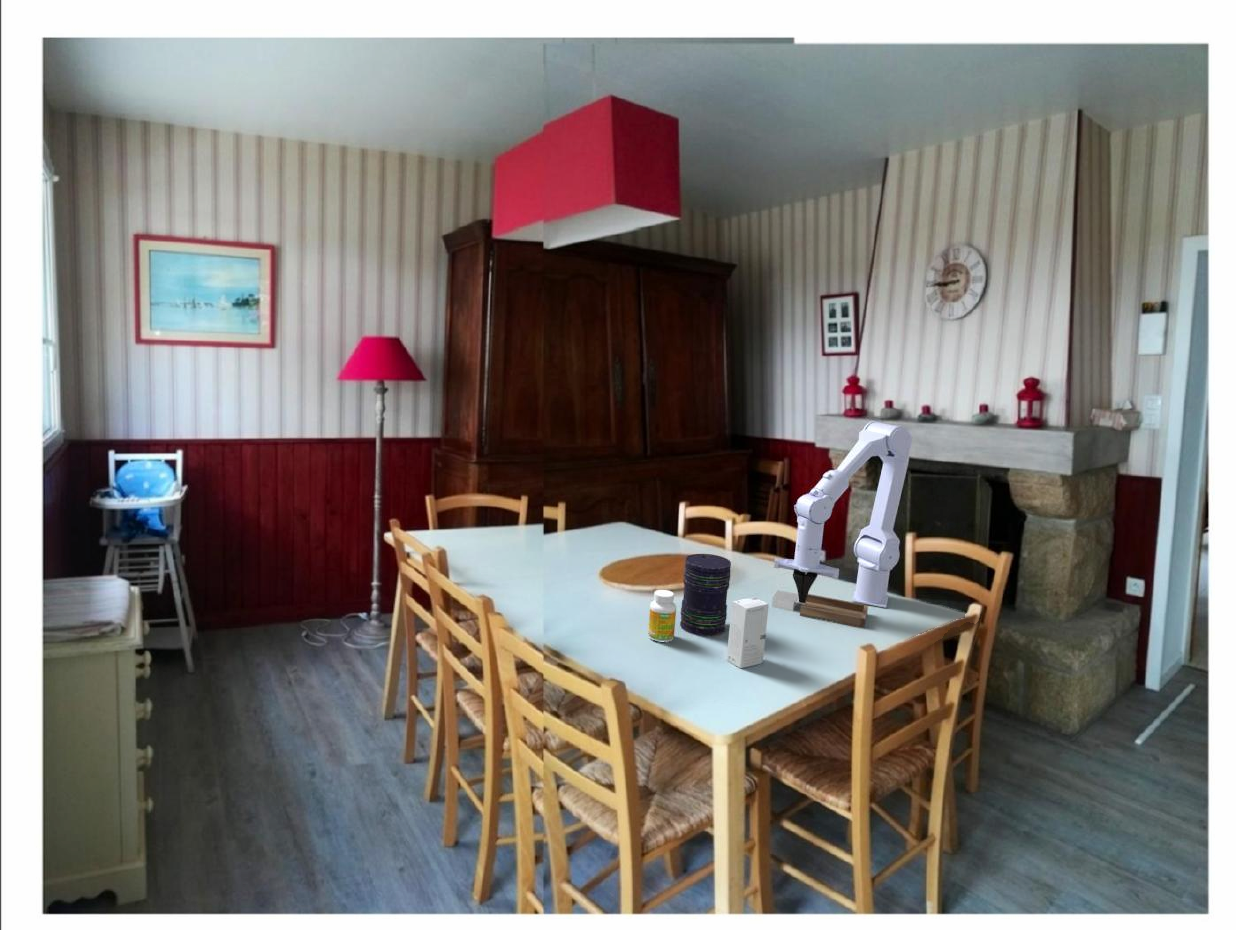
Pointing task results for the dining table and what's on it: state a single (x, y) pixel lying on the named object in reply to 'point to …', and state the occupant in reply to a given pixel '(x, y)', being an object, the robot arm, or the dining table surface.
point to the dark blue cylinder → (705, 594)
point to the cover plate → (785, 600)
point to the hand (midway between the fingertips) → (802, 601)
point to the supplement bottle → (662, 616)
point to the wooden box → (835, 610)
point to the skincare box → (747, 632)
